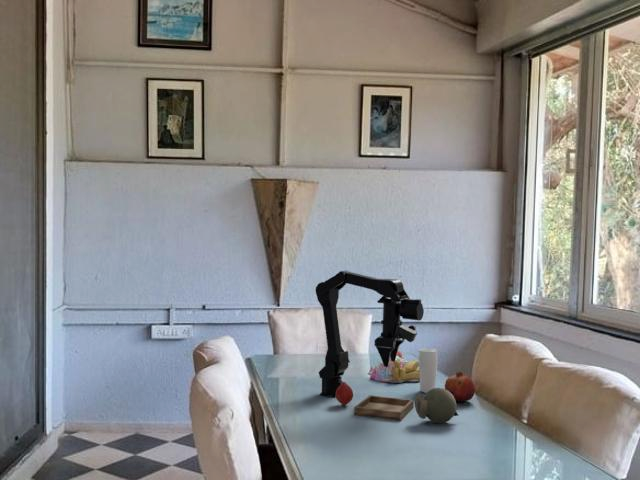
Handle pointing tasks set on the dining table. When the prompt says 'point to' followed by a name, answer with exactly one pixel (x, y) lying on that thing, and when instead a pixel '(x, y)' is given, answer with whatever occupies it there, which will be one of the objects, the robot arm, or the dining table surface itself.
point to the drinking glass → (427, 368)
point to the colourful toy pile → (396, 370)
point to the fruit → (460, 387)
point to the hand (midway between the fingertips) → (389, 364)
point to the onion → (344, 394)
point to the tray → (384, 407)
